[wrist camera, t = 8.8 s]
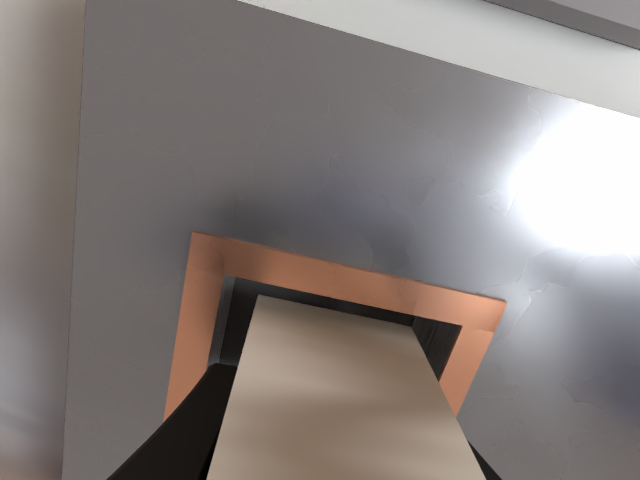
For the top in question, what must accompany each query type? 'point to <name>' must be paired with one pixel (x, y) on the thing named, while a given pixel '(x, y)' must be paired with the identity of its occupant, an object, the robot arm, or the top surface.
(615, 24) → the gray square plate
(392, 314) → the top surface
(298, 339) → the peg
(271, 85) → the hole plate
